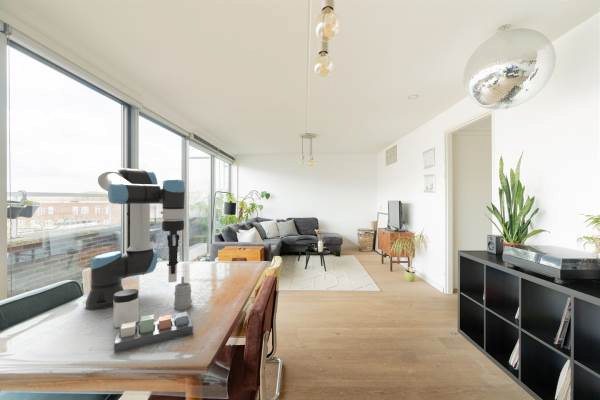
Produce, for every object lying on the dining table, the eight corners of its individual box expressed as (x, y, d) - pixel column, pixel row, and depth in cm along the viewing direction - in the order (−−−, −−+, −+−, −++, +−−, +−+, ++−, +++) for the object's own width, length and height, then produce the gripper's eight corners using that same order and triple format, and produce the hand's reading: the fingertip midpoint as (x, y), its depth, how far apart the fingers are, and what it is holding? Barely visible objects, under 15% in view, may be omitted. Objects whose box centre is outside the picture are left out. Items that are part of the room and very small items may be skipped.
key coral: (158, 329, 93) (158, 317, 93) (170, 326, 95) (170, 314, 95) (158, 334, 90) (158, 321, 90) (171, 331, 91) (171, 318, 92)
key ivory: (122, 337, 88) (122, 324, 88) (135, 334, 90) (135, 321, 90) (120, 342, 84) (120, 329, 84) (134, 339, 86) (135, 326, 86)
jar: (107, 329, 96) (108, 297, 96) (118, 319, 104) (118, 289, 104) (134, 326, 98) (134, 295, 98) (142, 317, 106) (142, 288, 106)
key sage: (140, 329, 90) (140, 316, 90) (153, 326, 92) (153, 314, 92) (140, 334, 87) (140, 321, 87) (153, 331, 89) (153, 318, 89)
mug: (173, 311, 111) (173, 283, 112) (173, 301, 122) (173, 276, 122) (192, 307, 115) (192, 281, 115) (191, 299, 125) (191, 274, 126)
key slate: (175, 325, 96) (175, 313, 96) (186, 323, 98) (186, 311, 98) (175, 330, 92) (175, 317, 92) (187, 327, 94) (187, 315, 94)
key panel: (118, 336, 90) (119, 328, 90) (189, 321, 101) (189, 314, 101) (114, 352, 80) (114, 343, 80) (192, 334, 92) (192, 326, 92)
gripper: (161, 218, 101) (160, 278, 101) (162, 221, 89) (161, 288, 90) (182, 218, 104) (181, 275, 105) (185, 221, 93) (185, 285, 93)
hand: (172, 281), depth 97 cm, fingers closed
